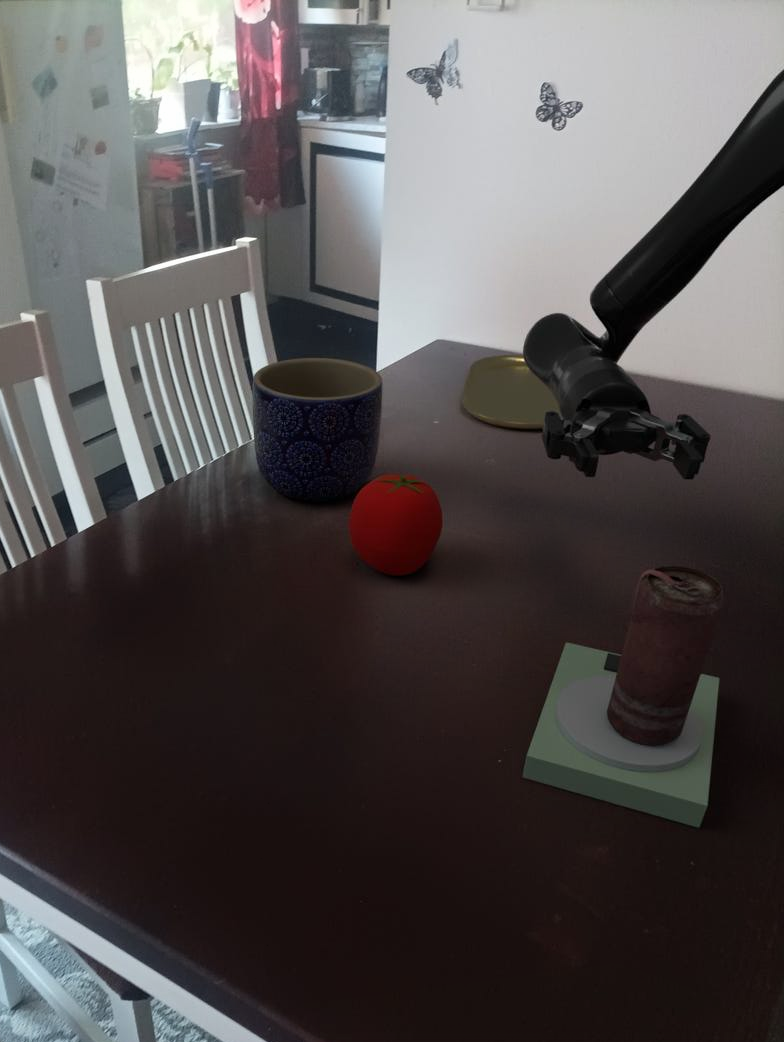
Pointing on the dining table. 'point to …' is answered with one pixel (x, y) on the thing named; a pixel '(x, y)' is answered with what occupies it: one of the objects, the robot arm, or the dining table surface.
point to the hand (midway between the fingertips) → (642, 468)
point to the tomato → (395, 523)
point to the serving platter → (507, 393)
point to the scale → (620, 744)
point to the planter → (316, 426)
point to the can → (664, 653)
